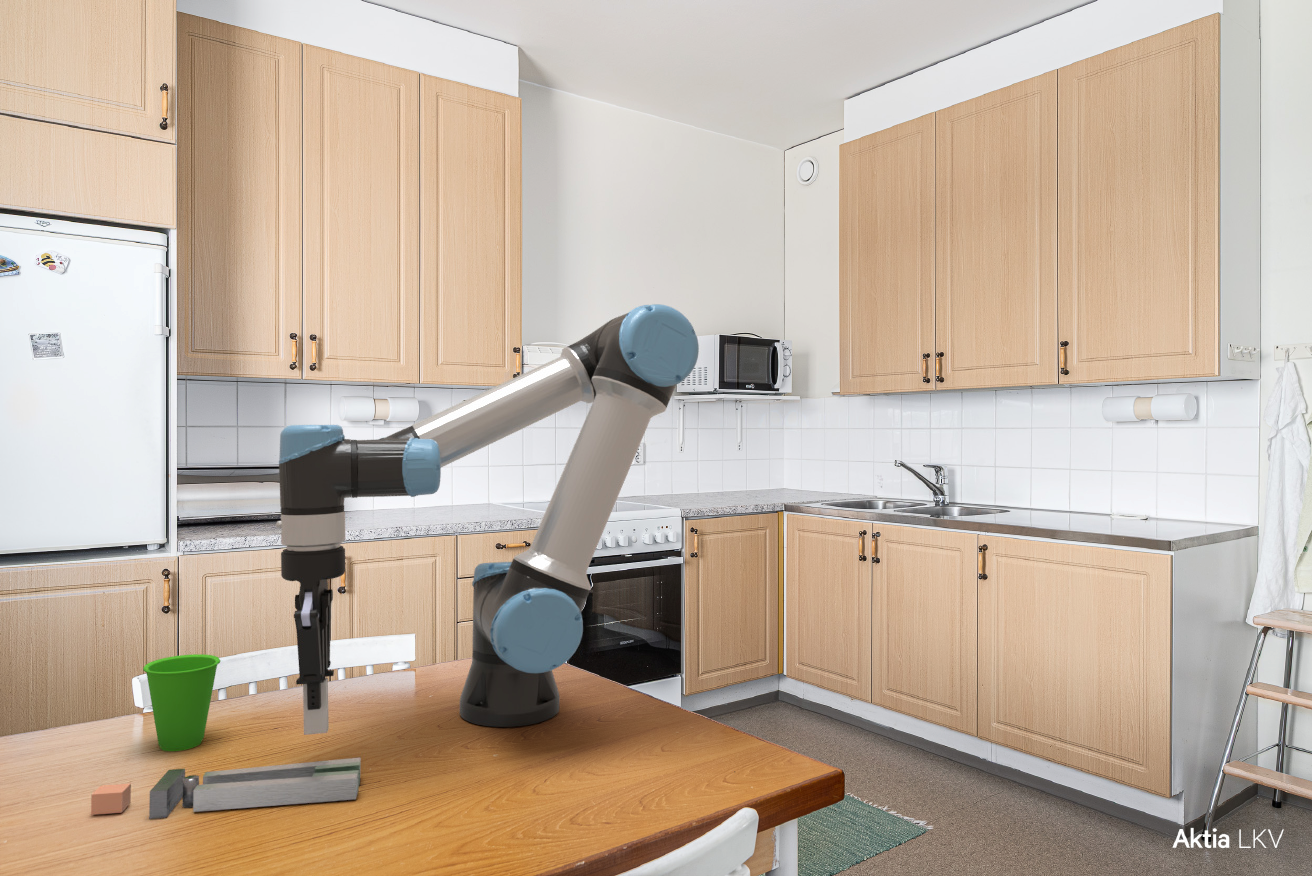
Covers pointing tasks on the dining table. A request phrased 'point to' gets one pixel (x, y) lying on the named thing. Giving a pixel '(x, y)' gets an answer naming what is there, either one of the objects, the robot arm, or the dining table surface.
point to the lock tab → (110, 799)
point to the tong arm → (282, 771)
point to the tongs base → (248, 792)
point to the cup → (181, 698)
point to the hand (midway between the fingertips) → (316, 731)
